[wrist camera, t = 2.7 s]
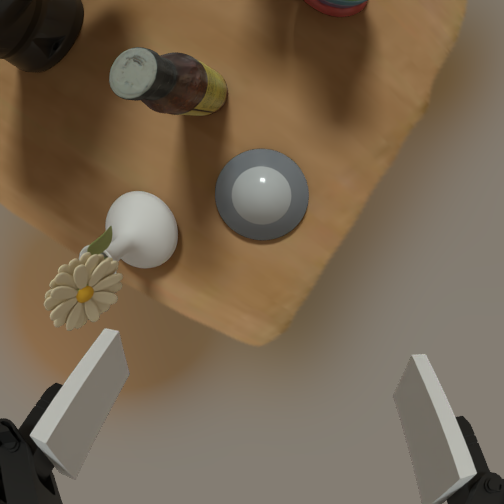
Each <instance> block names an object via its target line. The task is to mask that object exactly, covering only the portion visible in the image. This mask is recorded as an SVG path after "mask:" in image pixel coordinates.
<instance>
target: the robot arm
mask: <svg viewBox="0 0 504 504" xmlns="http://www.w3.org/2000/svg"><path fill="white" fill-rule="evenodd" d="M82 20H83V4H82V1H81V0H0V59H5V60H6V61H8V62H10V63H11V64H13V65H14V66H16V67H17V68H19V69H21V70H23V71H26V72H42V71H45V70H47V69H49V68H51V67H52V66H54V65H55V64H56V63H58V62H59V61H60V60H61V59H62V58H63V57H64V56H65V54H66V53H67V52H68V51H69V49H70V48H71V46H72V45H73V43H74V41H75V40H76V38H77V35H78V33H79V31H80V28H81V25H82ZM129 374H130V373H129V369H128V366H127V362H126V358H125V355H124V350H123V346H122V342H121V338H120V333H119V331H116V330H111V329H106V328H105V329H104V330H103V331H102V333H101V334H100V335H99V337H98V338H97V339H96V341H95V342H94V343H93V345H92V346H91V347H90V349H89V350H88V352H87V353H86V354H85V355H84V357H83V358H82V359H81V361H80V362H79V364H78V365H77V366H76V368H75V369H74V370H73V372H72V373H71V375H70V376H69V377H68V379H67V380H66V382H65V383H64V385H61V384H58V383H55V384H53V385H52V386H51V387H49V388H48V389H47V390H46V391H45V392H44V394H43V395H42V397H41V399H40V400H39V401H38V402H37V404H36V406H35V407H34V408H33V409H32V411H31V412H30V414H29V415H28V416H27V418H26V420H25V421H24V422H23V424H22V425H21V427H20V428H19V430H18V429H17V428H16V426H15V425H14V424H13V423H12V422H11V421H10V420H8V419H0V504H63V503H62V501H61V497H60V494H59V491H58V488H57V485H56V481H55V478H54V475H53V473H52V469H53V468H54V467H55V468H56V469H57V470H58V471H59V472H60V473H61V474H63V475H66V476H68V477H70V478H72V479H74V480H75V479H76V477H77V476H78V473H79V471H80V469H81V467H82V465H83V463H84V461H85V459H86V457H87V455H88V453H89V451H90V449H91V447H92V445H93V443H94V441H95V438H96V437H97V435H98V433H99V431H100V429H101V427H102V425H103V423H104V421H105V419H106V418H107V416H108V414H109V412H110V410H111V408H112V406H113V404H114V402H115V400H116V399H117V397H118V395H119V393H120V391H121V389H122V387H123V385H124V383H125V382H126V380H127V378H128V376H129ZM393 398H394V401H395V404H396V408H397V411H398V414H399V417H400V420H401V424H402V428H403V431H404V435H405V438H406V442H407V445H408V449H409V453H410V457H411V461H412V465H413V468H414V473H415V477H416V481H417V485H418V489H419V494H420V498H421V503H422V504H442V503H443V502H445V501H446V500H447V502H448V504H504V479H502V478H501V477H500V476H499V475H497V474H496V473H492V472H490V470H489V469H488V466H487V463H486V461H485V458H484V456H483V453H482V451H481V448H480V446H479V443H477V439H476V436H474V432H473V429H472V427H471V425H470V423H469V422H468V421H467V420H466V419H465V418H464V417H463V416H460V417H455V416H454V413H453V411H452V409H451V406H450V404H449V402H448V400H447V398H446V395H445V393H444V391H443V389H442V387H441V385H440V383H439V380H438V379H437V376H436V374H435V372H434V370H433V368H432V366H431V364H430V362H429V360H428V358H427V356H426V354H417V355H411V357H410V360H409V362H408V364H407V366H406V369H405V371H404V373H403V376H402V378H401V380H400V382H399V384H398V386H397V388H396V390H395V392H394V394H393Z"/></svg>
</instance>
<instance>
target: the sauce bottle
mask: <svg viewBox="0 0 504 504" xmlns="http://www.w3.org/2000/svg"><path fill="white" fill-rule="evenodd" d="M109 82H110V86H111V89H112V90H113V92H114V93H115V94H116V95H117V96H119V97H121V98H123V99H128V100H141V101H142V102H143V103H145V104H146V105H147V106H148V107H149V108H150V109H152V110H154V111H156V112H159V113H168V114H173V115H195V116H204V115H209V114H211V113H214V112H217V111H218V110H219V109H220V108H221V107H222V106H223V105H224V103H225V101H226V99H227V96H228V90H227V85H226V82H225V80H224V79H223V77H222V76H221V75H220V74H219V73H218V72H216V71H215V70H213V69H212V68H210V67H208V66H207V65H205V64H203V63H202V62H200V61H199V60H197V59H195V58H193V57H191V56H189V55H187V54H183V53H168V54H165V55H161V56H159V55H158V54H157V53H156V52H155V51H152V50H150V49H146V48H140V47H136V48H131V49H128V50H127V51H124V52H123V53H121V54H120V55H119V56H118V57H117V58H116V60H115V61H114V63H113V65H112V67H111V70H110V75H109Z"/></svg>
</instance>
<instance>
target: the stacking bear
mask: <svg viewBox="0 0 504 504" xmlns="http://www.w3.org/2000/svg"><path fill="white" fill-rule="evenodd" d="M304 1H305V2H306V3H307V4H309V5H310V6H311V7H313V8H314V9H316V10H318V11H320V12H322V13H324V14H327V15H330V16H336V17H346V16H351V15H354V14H356V13H358V12H360V11H361V10H362V9H363V8H364V7H365V5H366V3H367V1H368V0H304Z"/></svg>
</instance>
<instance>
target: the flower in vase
mask: <svg viewBox="0 0 504 504" xmlns="http://www.w3.org/2000/svg"><path fill="white" fill-rule="evenodd" d="M177 241H178V228H177V223H176V220H175V218H174V216H173V214H172V212H171V210H170V209H169V207H168V206H167V205H166V204H165V203H164V202H163V201H162V200H161V199H159V198H158V197H156V196H154V195H153V194H150V193H147V192H143V191H132V192H128V193H125V194H123V195H122V196H120V197H119V198H118V199H116V201H115V202H114V203H113V204H112V206H111V208H110V210H109V212H108V214H107V218H106V231H105V232H104V233H103V234H102V235H101V236H100V237H99V238H98V239H96V240H95V241H94V242H93V243H91V244H90V245H88V246H86V247H84V248H83V249H82V250H81V252H80V255H79V259H77V258H75V259H73V260H71V261H70V262H69V265H66V264H64V265H62V266H61V267H59V269H58V275H57V276H56V277H55V279H53V280H52V281H51V282H50V285H49V286H50V288H51V289H50V290H49V291H47V293H46V295H45V299H46V300H45V302H44V306H45V309H46V310H53V311H52V312H51V314H50V319H51V320H53V321H54V326H55V327H60V326H61V325H64V324H65V323H66V329H67V330H68V331H71V330H73V329H74V328H77V329H78V328H81V327H82V326H83V325H85V324H86V322H87V319H88V320H90V321H91V322H96V321H97V320H98V319H99V317H100V314H102V313H103V312H106V311H108V310H109V308H110V304H114V303H116V302H117V300H118V297H117V296H116V295H115V294H114V293H116V292H117V291H119V290H120V289H121V288H122V283H121V282H119V281H121V280H122V278H123V275H122V274H121V273H116V271H117V269H118V265H119V262H118V261H119V260H120V259H122V260H123V261H124V262H126V263H127V264H129V265H131V266H134V267H138V268H152V267H156V266H159V265H161V264H163V263H165V262H166V261H167V260H168V259H169V258H170V257H171V256H172V254H173V253H174V251H175V249H176V245H177Z"/></svg>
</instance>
